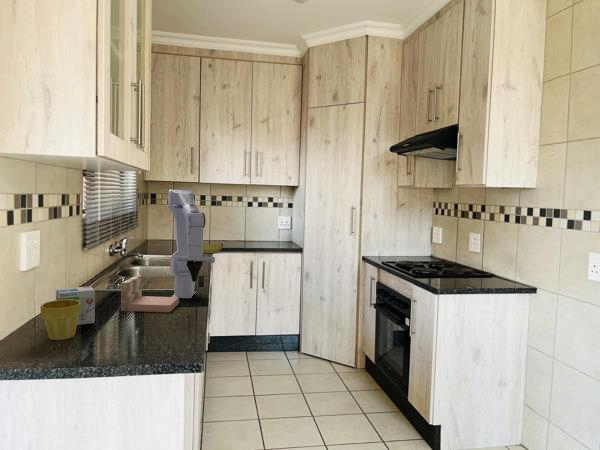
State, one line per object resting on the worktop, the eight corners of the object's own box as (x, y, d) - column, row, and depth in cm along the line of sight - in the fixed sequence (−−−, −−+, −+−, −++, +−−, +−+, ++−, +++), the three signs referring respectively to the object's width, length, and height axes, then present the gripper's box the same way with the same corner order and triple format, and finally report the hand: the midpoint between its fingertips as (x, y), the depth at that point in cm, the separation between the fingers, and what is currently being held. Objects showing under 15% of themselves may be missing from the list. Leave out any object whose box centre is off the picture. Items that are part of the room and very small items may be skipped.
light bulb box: (58, 327, 137) (58, 293, 137) (55, 322, 143) (54, 288, 142) (95, 322, 144) (95, 289, 143) (91, 317, 149) (91, 285, 148)
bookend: (136, 300, 173) (136, 275, 172) (141, 300, 173) (141, 275, 172) (120, 310, 158) (121, 282, 157) (126, 311, 158) (126, 283, 157)
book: (139, 303, 171) (139, 296, 170) (178, 305, 171) (178, 297, 170) (127, 312, 159) (127, 303, 158) (169, 313, 159) (169, 305, 158)
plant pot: (35, 343, 123) (35, 308, 122) (47, 331, 133) (46, 299, 132) (76, 341, 125) (76, 307, 125) (85, 330, 135) (84, 298, 135)
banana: (222, 252, 316) (223, 224, 314) (223, 253, 310) (223, 225, 309) (189, 252, 310) (189, 224, 308) (189, 254, 304) (190, 224, 303)
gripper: (172, 245, 162) (172, 282, 163) (212, 246, 162) (211, 283, 163) (177, 243, 170) (177, 279, 170) (216, 244, 169) (215, 280, 170)
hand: (194, 281), depth 167 cm, fingers closed
